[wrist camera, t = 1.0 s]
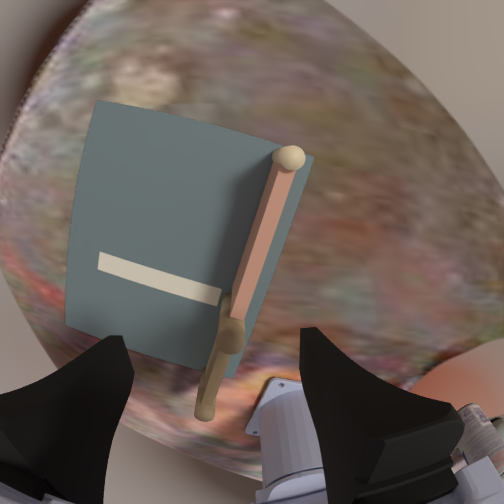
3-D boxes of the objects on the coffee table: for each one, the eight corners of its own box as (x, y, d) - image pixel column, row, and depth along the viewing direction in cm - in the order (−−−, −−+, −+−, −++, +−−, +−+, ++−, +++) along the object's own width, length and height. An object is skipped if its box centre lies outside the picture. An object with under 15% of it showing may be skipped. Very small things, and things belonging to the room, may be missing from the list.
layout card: (313, 157, 19) (314, 157, 18) (233, 375, 24) (233, 379, 24) (99, 100, 17) (96, 100, 17) (67, 322, 22) (65, 325, 22)
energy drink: (451, 433, 30) (485, 491, 18) (440, 423, 29) (478, 489, 17) (480, 408, 29) (518, 464, 17) (472, 396, 27) (516, 458, 16)
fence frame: (247, 294, 21) (248, 335, 16) (217, 381, 24) (212, 426, 19) (225, 288, 21) (220, 328, 16) (198, 376, 23) (190, 421, 19)
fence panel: (246, 290, 21) (247, 324, 17) (229, 286, 21) (226, 319, 16) (293, 151, 18) (308, 150, 14) (275, 144, 18) (284, 142, 14)
